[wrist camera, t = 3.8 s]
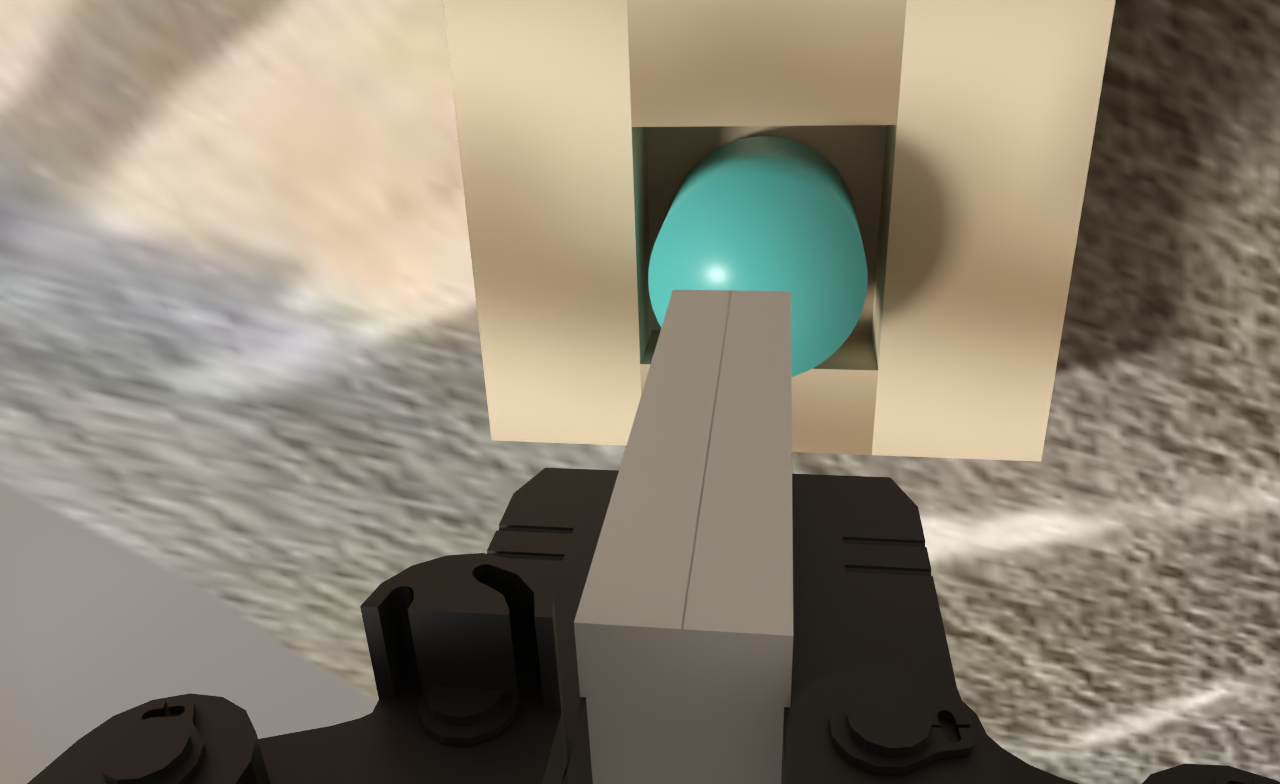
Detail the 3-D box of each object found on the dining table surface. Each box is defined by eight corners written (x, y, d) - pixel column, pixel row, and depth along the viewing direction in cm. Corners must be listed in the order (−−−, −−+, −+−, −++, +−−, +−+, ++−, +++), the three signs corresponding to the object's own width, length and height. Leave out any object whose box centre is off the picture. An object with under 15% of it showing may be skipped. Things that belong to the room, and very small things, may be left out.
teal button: (667, 136, 21) (645, 174, 17) (862, 135, 20) (874, 174, 17) (671, 315, 22) (650, 379, 19) (850, 319, 22) (860, 385, 19)
